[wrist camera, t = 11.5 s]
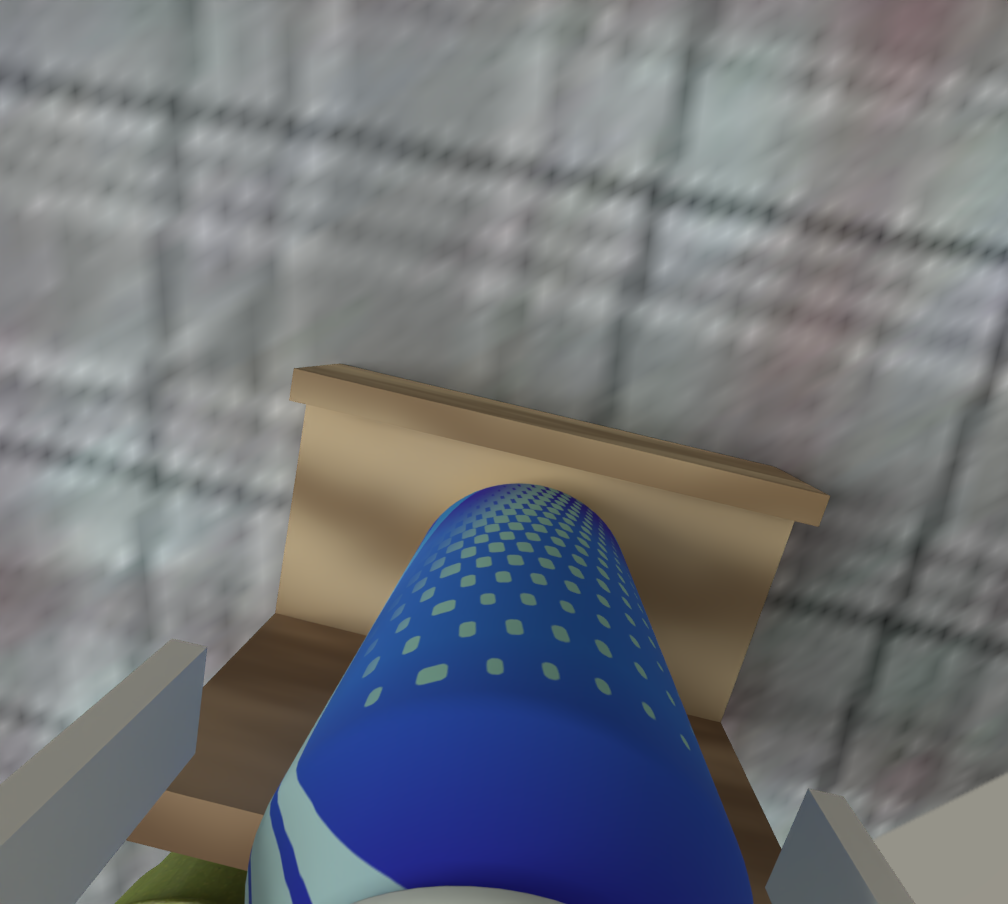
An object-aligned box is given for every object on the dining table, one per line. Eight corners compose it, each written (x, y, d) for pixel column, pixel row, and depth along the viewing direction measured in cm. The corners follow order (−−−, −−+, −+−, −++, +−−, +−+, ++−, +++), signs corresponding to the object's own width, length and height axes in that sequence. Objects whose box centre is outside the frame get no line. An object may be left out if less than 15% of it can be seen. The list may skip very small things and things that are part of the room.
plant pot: (469, 842, 29) (427, 1153, 18) (276, 888, 30) (126, 1201, 19) (389, 655, 27) (284, 874, 16) (186, 714, 28) (-39, 951, 17)
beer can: (650, 507, 21) (966, 972, 6) (586, 685, 23) (689, 1415, 7) (449, 449, 21) (199, 747, 6) (401, 630, 23) (110, 1241, 7)
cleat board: (340, 363, 24) (148, 383, 12) (774, 466, 24) (1008, 589, 12) (299, 618, 27) (110, 836, 15) (687, 714, 26) (808, 1013, 15)
